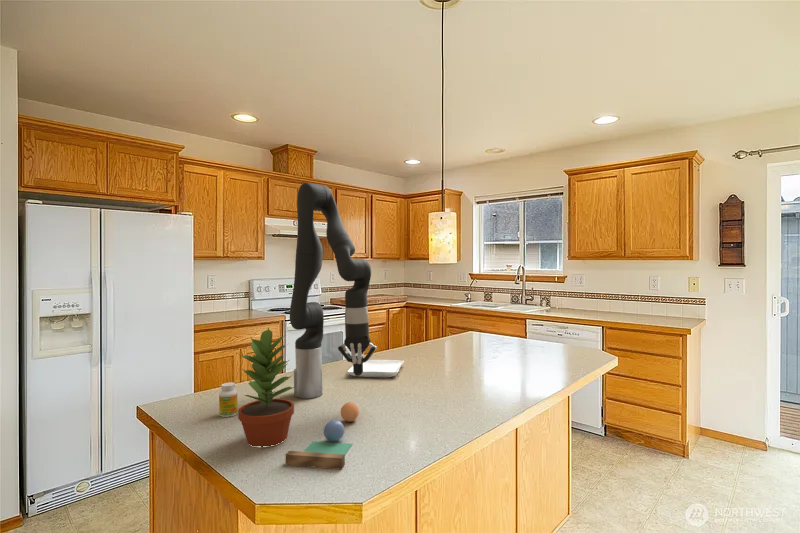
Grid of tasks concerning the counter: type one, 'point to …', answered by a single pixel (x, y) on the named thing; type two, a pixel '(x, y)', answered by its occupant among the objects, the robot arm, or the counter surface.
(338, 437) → the object ball
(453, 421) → the counter surface
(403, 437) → the counter surface
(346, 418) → the orange ball
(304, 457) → the stopper wall
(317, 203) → the robot arm
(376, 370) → the salad plate
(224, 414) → the supplement bottle
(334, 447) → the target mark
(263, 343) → the potted plant
